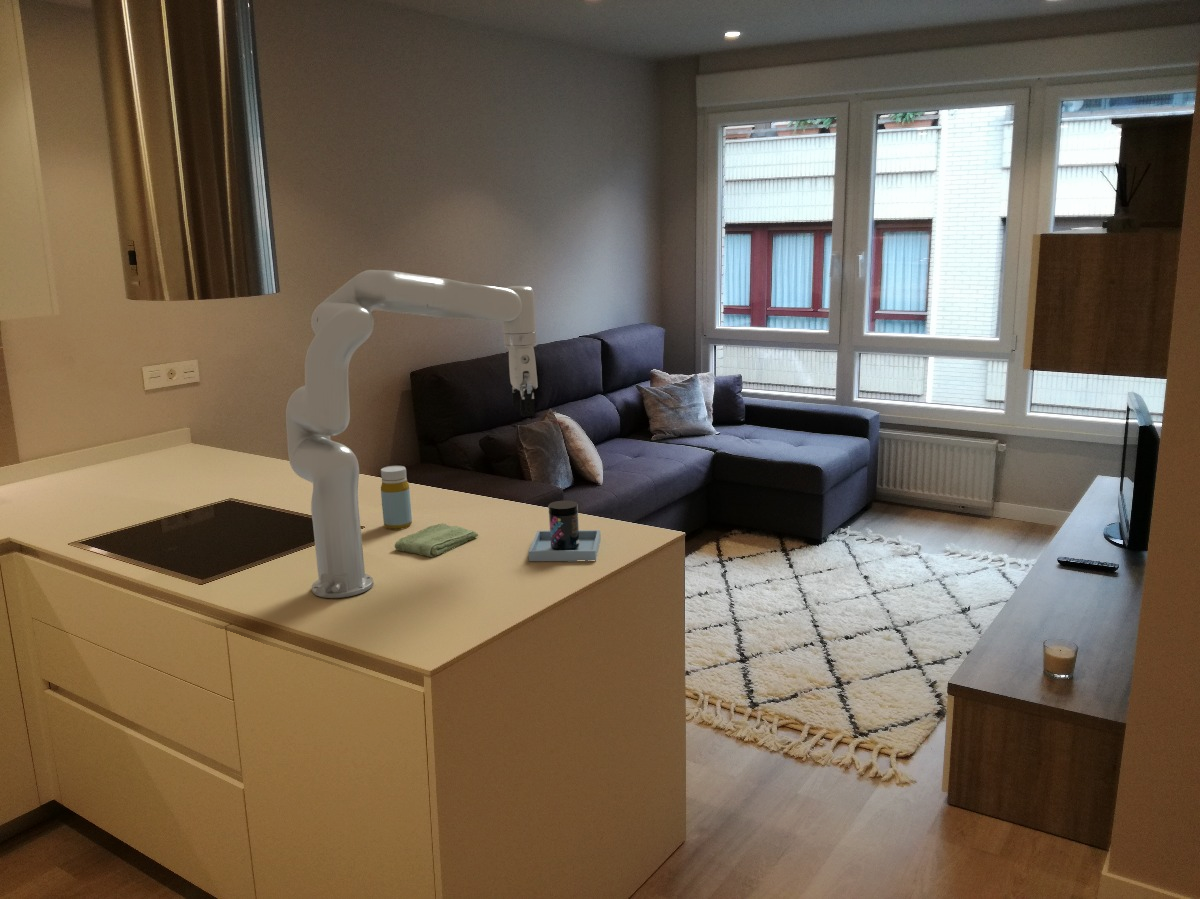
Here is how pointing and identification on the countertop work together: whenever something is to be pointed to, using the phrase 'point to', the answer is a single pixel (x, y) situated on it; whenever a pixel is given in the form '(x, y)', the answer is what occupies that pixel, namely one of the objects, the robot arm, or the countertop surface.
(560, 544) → the supplement container
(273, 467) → the countertop surface
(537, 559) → the tray
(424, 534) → the washcloth
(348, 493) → the robot arm
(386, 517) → the bottle
